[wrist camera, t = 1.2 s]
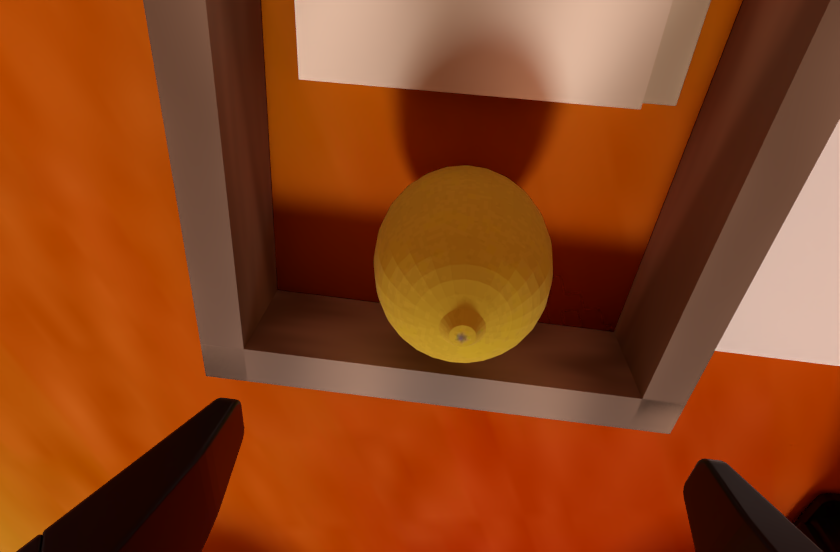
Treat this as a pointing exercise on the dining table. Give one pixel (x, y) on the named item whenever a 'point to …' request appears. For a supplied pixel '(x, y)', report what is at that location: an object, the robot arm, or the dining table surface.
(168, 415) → the dining table surface
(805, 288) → the tile
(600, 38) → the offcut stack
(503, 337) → the lemon
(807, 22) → the walnut rack
